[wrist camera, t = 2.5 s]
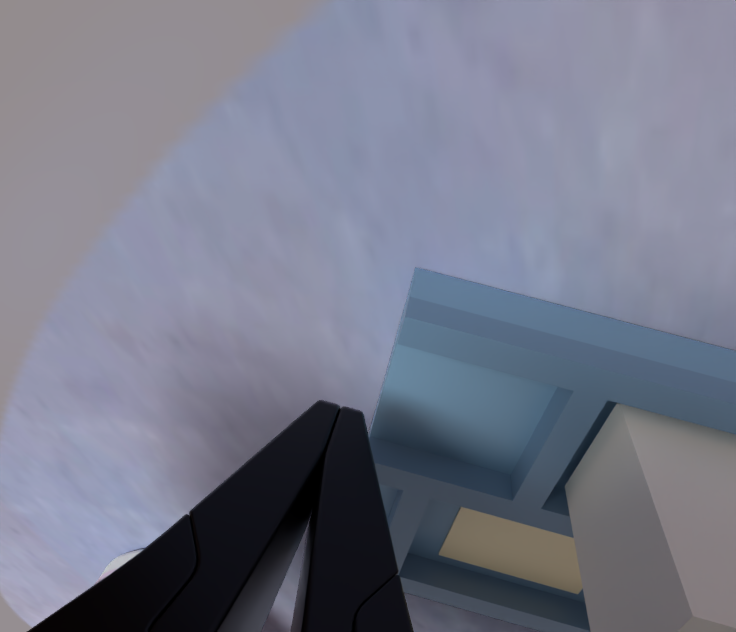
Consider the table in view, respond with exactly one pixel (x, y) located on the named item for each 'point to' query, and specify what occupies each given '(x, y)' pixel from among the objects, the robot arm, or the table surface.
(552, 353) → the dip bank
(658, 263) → the table surface
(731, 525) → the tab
